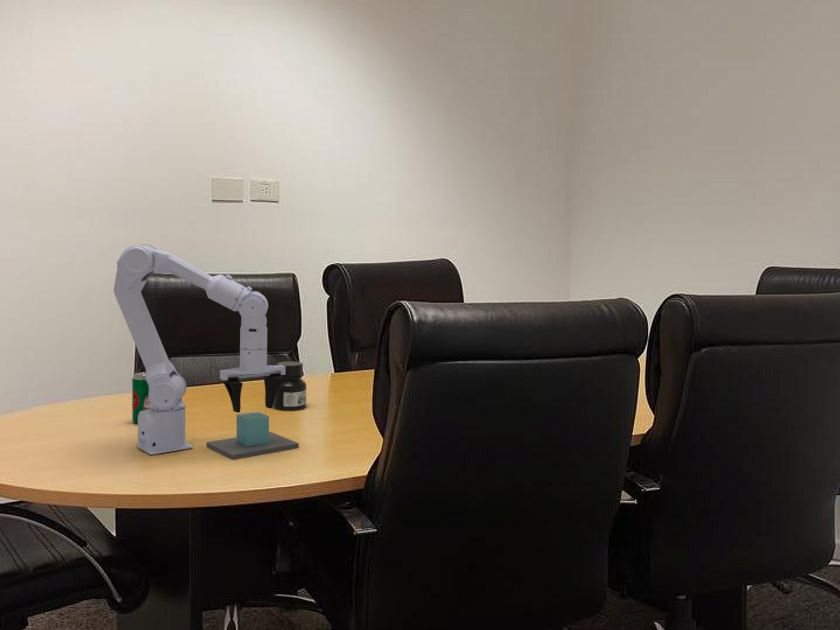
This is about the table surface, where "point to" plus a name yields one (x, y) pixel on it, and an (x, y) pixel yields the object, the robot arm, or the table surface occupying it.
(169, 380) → the robot arm
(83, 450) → the table surface
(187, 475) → the table surface
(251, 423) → the teal square block
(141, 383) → the soda can
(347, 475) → the table surface
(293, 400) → the ink bottle
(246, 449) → the pin stand
